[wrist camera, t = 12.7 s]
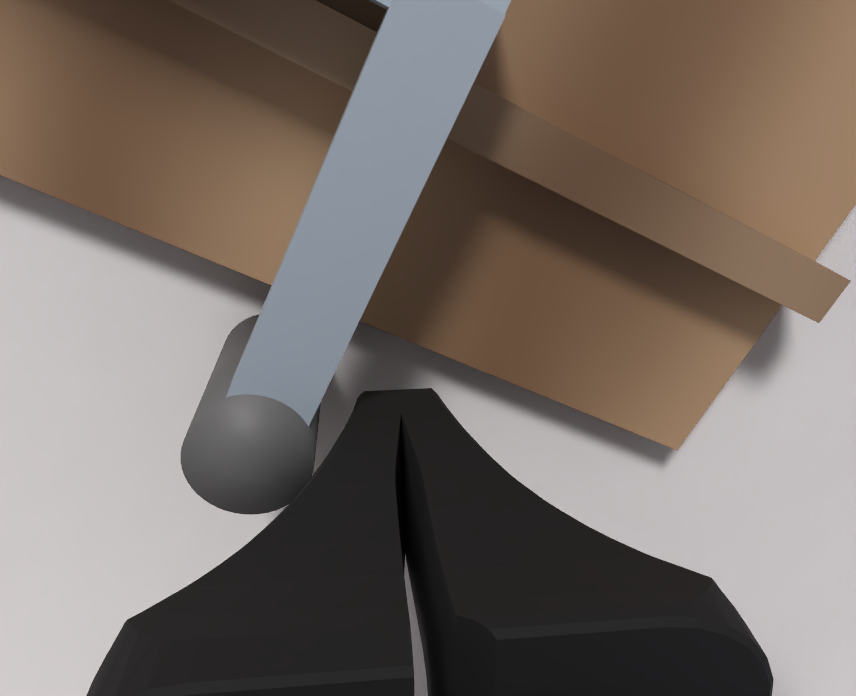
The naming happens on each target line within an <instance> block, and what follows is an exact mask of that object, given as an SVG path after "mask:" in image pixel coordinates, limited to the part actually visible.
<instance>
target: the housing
mask: <svg viewBox="0 0 856 696" xmlns="http://www.w3.org/2000/svg"><path fill="white" fill-rule="evenodd" d="M386 11H387V10H385V9H383V8H381V7H380V6H378V5H376V4H374V3H372V2H370V1H368V0H0V175H1V176H4V177H6V178H9V179H11V180H13V181H16V182H18V183H21V184H23V185H26V186H28V187H31V188H33V189H36V190H38V191H41V192H43V193H45V194H48V195H50V196H53V197H55V198H58V199H60V200H63V201H65V202H68V203H70V204H73V205H75V206H77V207H80V208H82V209H85V210H87V211H90V212H92V213H95V214H97V215H100V216H102V217H104V218H107V219H109V220H112V221H114V222H117V223H119V224H122V225H124V226H127V227H129V228H132V229H134V230H136V231H139V232H141V233H144V234H146V235H149V236H151V237H154V238H156V239H159V240H161V241H164V242H166V243H168V244H171V245H173V246H176V247H178V248H181V249H183V250H186V251H188V252H191V253H193V254H195V255H198V256H200V257H203V258H205V259H208V260H210V261H213V262H215V263H218V264H220V265H223V266H225V267H227V268H230V269H232V270H235V271H237V272H240V273H242V274H245V275H247V276H250V277H252V278H255V279H257V280H259V281H262V282H264V283H267V284H269V285H272V283H273V281H274V278H275V276H276V274H277V271H278V269H279V267H280V264H281V262H282V259H283V257H284V255H285V252H286V250H287V247H288V245H289V243H290V240H291V238H292V235H293V233H294V231H295V228H296V226H297V223H298V221H299V219H300V216H301V214H302V211H303V209H304V207H305V204H306V202H307V200H308V197H309V195H310V192H311V190H312V188H313V185H314V183H315V180H316V178H317V176H318V173H319V171H320V168H321V166H322V164H323V161H324V159H325V156H326V154H327V152H328V149H329V147H330V145H331V142H332V140H333V137H334V135H335V133H336V130H337V128H338V125H339V123H340V121H341V118H342V116H343V113H344V111H345V109H346V106H347V104H348V101H349V99H350V97H351V94H352V92H353V90H354V87H355V85H356V82H357V80H358V78H359V75H360V73H361V70H362V68H363V66H364V63H365V61H366V58H367V56H368V54H369V51H370V49H371V46H372V44H373V42H374V39H375V37H376V34H377V32H378V30H379V27H380V25H381V23H382V20H383V18H384V15H385V13H386ZM505 15H506V16H505V18H504V20H503V22H502V24H501V26H500V29H499V31H498V33H497V35H496V37H495V39H494V41H493V43H492V45H491V47H490V49H489V51H488V54H487V56H486V58H485V60H484V62H483V64H482V66H481V68H480V70H479V72H478V74H477V77H476V79H475V81H474V83H473V85H472V87H471V89H470V91H469V93H468V95H467V97H466V99H465V102H464V104H463V106H462V108H461V110H460V112H459V114H458V116H457V118H456V120H455V122H454V125H453V127H452V129H451V131H450V133H449V135H448V137H447V139H446V141H445V143H444V145H443V147H442V150H441V152H440V154H439V156H438V158H437V160H436V162H435V164H434V166H433V168H432V170H431V173H430V175H429V177H428V179H427V181H426V183H425V185H424V187H423V189H422V191H421V193H420V195H419V198H418V200H417V202H416V204H415V206H414V208H413V210H412V212H411V214H410V216H409V218H408V221H407V223H406V225H405V227H404V229H403V231H402V233H401V235H400V237H399V239H398V241H397V243H396V246H395V248H394V250H393V252H392V254H391V256H390V258H389V260H388V262H387V264H386V266H385V269H384V271H383V273H382V275H381V277H380V279H379V281H378V283H377V285H376V287H375V289H374V291H373V294H372V296H371V298H370V300H369V302H368V304H367V306H366V308H365V310H364V312H363V314H362V317H361V319H360V322H363V323H365V324H368V325H370V326H373V327H375V328H377V329H380V330H382V331H385V332H387V333H390V334H392V335H395V336H397V337H400V338H402V339H405V340H407V341H409V342H412V343H414V344H417V345H419V346H422V347H424V348H427V349H429V350H432V351H434V352H437V353H439V354H441V355H444V356H446V357H449V358H451V359H454V360H456V361H459V362H461V363H464V364H466V365H468V366H471V367H473V368H476V369H478V370H481V371H483V372H486V373H488V374H491V375H493V376H496V377H498V378H500V379H503V380H505V381H508V382H510V383H513V384H515V385H518V386H520V387H523V388H525V389H528V390H530V391H532V392H535V393H537V394H540V395H542V396H545V397H547V398H550V399H552V400H555V401H557V402H559V403H562V404H564V405H567V406H569V407H572V408H574V409H577V410H579V411H582V412H584V413H587V414H589V415H591V416H594V417H596V418H599V419H601V420H604V421H606V422H609V423H611V424H614V425H616V426H619V427H621V428H623V429H626V430H628V431H631V432H633V433H636V434H638V435H641V436H643V437H646V438H648V439H650V440H653V441H655V442H658V443H660V444H663V445H665V446H668V447H670V448H673V449H675V450H678V449H679V447H680V446H681V445H682V443H683V442H684V440H685V439H686V438H687V436H688V435H689V434H690V432H691V431H692V429H693V428H694V427H695V425H696V424H697V423H698V421H699V420H700V418H701V417H702V416H703V414H704V413H705V412H706V410H707V409H708V407H709V406H710V405H711V403H712V402H713V400H714V399H715V398H716V396H717V395H718V394H719V392H720V391H721V389H722V388H723V387H724V385H725V384H726V383H727V381H728V380H729V378H730V377H731V376H732V374H733V373H734V371H735V370H736V369H737V367H738V366H739V365H740V363H741V362H742V360H743V359H744V358H745V356H746V355H747V354H748V352H749V351H750V349H751V348H752V347H753V345H754V344H755V342H756V341H757V340H758V338H759V337H760V336H761V334H762V333H763V331H764V330H765V329H766V327H767V326H768V325H769V323H770V322H771V320H772V319H773V318H774V316H775V315H776V313H777V312H778V311H779V309H780V308H781V307H782V305H784V306H786V307H788V308H790V309H792V310H794V311H796V312H798V313H800V314H802V315H804V316H806V317H808V318H810V319H812V320H814V321H816V322H818V323H819V322H820V321H821V320H822V318H823V317H824V316H825V314H826V313H827V312H828V310H829V309H830V308H831V307H832V305H833V304H834V303H835V301H836V300H837V299H838V297H839V296H840V295H841V293H842V292H843V291H844V289H845V288H846V287H847V285H848V284H849V283H850V280H848V279H846V278H844V277H843V276H841V275H839V274H837V273H835V272H833V271H832V270H830V269H828V268H826V267H824V266H822V265H820V264H819V263H817V262H815V260H816V258H817V257H818V256H819V254H820V253H821V251H822V250H823V249H824V247H825V246H826V244H827V243H828V242H829V240H830V239H831V238H832V236H833V235H834V233H835V232H836V231H837V229H838V228H839V227H840V225H841V224H842V222H843V221H844V220H845V218H846V217H847V215H848V214H849V213H850V211H851V210H852V209H853V207H854V206H855V204H856V0H511V2H510V4H509V6H508V8H507V11H506V13H505Z"/></svg>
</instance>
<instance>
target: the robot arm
mask: <svg viewBox="0 0 856 696" xmlns="http://www.w3.org/2000/svg"><path fill="white" fill-rule="evenodd" d="M405 555H406V560H407V566H408V571H409V577H410V582H411V587H412V593H413V598H414V604H415V609H416V614H417V620H418V625H419V631H420V636H421V641H422V647H423V654H424V661H425V668H426V676H427V688H428V696H772V687H773V676H772V673H771V669H770V666H769V662H768V659H767V657H766V655H765V653H764V652H763V650H762V649H761V647H760V645H759V644H758V642H757V641H756V639H755V638H754V636H753V634H752V633H751V631H750V629H749V628H748V626H747V625H746V623H745V622H744V620H743V619H742V617H741V616H740V615H739V613H738V612H737V610H736V609H735V607H734V606H733V605H732V604H731V602H730V601H729V600H728V599H727V597H726V596H725V595H724V593H723V592H722V591H721V590H720V588H719V587H718V586H717V584H716V583H715V581H714V580H713V579H712V578H710V577H708V576H705V575H702V574H699V573H696V572H694V571H691V570H688V569H685V568H683V567H680V566H677V565H674V564H672V563H669V562H666V561H663V560H660V559H658V558H655V557H652V556H650V555H647V554H645V553H642V552H640V551H638V550H636V549H634V548H631V547H629V546H627V545H625V544H623V543H620V542H618V541H616V540H614V539H612V538H609V537H607V536H606V535H604V534H602V533H600V532H598V531H596V530H594V529H592V528H590V527H588V526H586V525H584V524H583V523H581V522H579V521H578V520H576V519H574V518H572V517H571V516H569V515H567V514H566V513H564V512H562V511H560V510H559V509H557V508H556V507H554V506H553V505H551V504H549V503H548V502H546V501H545V500H543V499H542V498H541V497H539V496H538V495H536V494H535V493H534V492H532V491H531V490H530V489H528V488H527V487H526V486H524V485H523V484H521V483H520V482H519V481H517V480H516V479H515V478H514V477H512V476H511V475H510V474H509V473H508V472H507V471H506V470H505V469H503V468H502V467H501V466H500V465H499V464H498V463H497V462H496V461H495V460H494V459H493V458H492V457H491V456H490V455H489V454H488V453H487V452H486V451H485V450H484V449H483V448H482V447H481V446H480V445H479V444H478V443H477V442H476V441H475V440H474V439H473V438H472V437H471V436H470V434H469V433H468V432H467V431H466V430H465V429H464V428H463V427H462V425H461V424H460V423H459V422H458V421H457V419H456V418H455V417H454V416H453V415H452V413H451V412H450V411H449V409H448V408H447V407H446V405H445V404H444V403H443V401H442V400H441V399H440V397H439V396H438V394H437V393H436V392H435V391H434V390H433V389H432V388H425V389H405V390H384V391H364V392H363V393H362V394H361V395H360V396H359V397H358V398H357V402H356V405H355V407H354V410H353V412H352V414H351V416H350V418H349V420H348V422H347V424H346V426H345V428H344V430H343V431H342V433H341V435H340V436H339V438H338V440H337V441H336V443H335V444H334V446H333V448H332V449H331V451H330V452H329V454H328V455H327V457H326V458H325V460H324V461H323V462H322V464H321V465H320V467H319V468H318V469H317V471H316V472H315V473H314V475H313V476H312V477H311V479H310V480H309V481H308V483H307V484H306V485H305V486H304V488H303V489H302V490H301V491H300V492H299V494H298V495H297V496H296V497H295V498H294V499H293V500H292V502H291V503H290V504H289V505H288V506H287V507H286V508H285V509H284V510H283V511H282V512H281V513H280V514H279V515H278V516H277V517H276V518H275V519H274V520H273V521H272V522H271V523H270V524H269V525H268V526H267V527H266V528H265V529H263V530H262V531H261V532H260V533H259V534H258V535H257V536H256V537H254V538H253V539H252V540H251V541H250V542H249V543H248V544H246V545H245V546H244V547H243V548H241V549H240V550H239V551H237V552H236V553H235V554H233V555H232V556H231V557H229V558H228V559H227V560H225V561H224V562H223V563H221V564H220V565H218V566H217V567H215V568H214V569H213V570H211V571H210V572H208V573H207V574H205V575H204V576H202V577H201V578H199V579H198V580H196V581H195V582H193V583H191V584H190V585H188V586H187V587H185V588H183V589H182V590H180V591H178V592H176V593H175V594H173V595H171V596H169V597H168V598H166V599H164V600H162V601H160V602H159V603H157V604H155V605H153V606H152V607H150V608H148V609H146V610H145V611H143V612H141V613H139V614H137V615H135V616H133V617H132V618H130V619H128V620H127V621H126V622H125V623H124V625H123V627H122V629H121V631H120V632H119V634H118V636H117V638H116V640H115V641H114V643H113V645H112V647H111V649H110V650H109V652H108V654H107V655H106V657H105V659H104V661H103V663H102V665H101V666H100V668H99V670H98V672H97V674H96V676H95V678H94V680H93V682H92V684H91V686H90V689H89V691H88V694H87V696H414V669H413V655H412V642H411V630H410V620H409V613H408V605H407V597H406V589H405V580H404V567H405Z"/></svg>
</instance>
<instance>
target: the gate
mask: <svg viewBox="0 0 856 696" xmlns="http://www.w3.org/2000/svg"><path fill="white" fill-rule="evenodd" d="M368 1H370V2H372V3H374V4H376V5H378V6H380V7H381V8H383V9H385V10H387V11H386V13H385V15H384V18H383V20H382V23H381V25H380V27H379V30H378V32H377V34H376V37H375V39H374V42H373V44H372V46H371V49H370V51H369V54H368V56H367V58H366V61H365V63H364V66H363V68H362V70H361V73H360V75H359V78H358V80H357V82H356V85H355V87H354V90H353V92H352V94H351V97H350V99H349V101H348V104H347V106H346V109H345V111H344V113H343V116H342V118H341V121H340V123H339V125H338V128H337V130H336V133H335V135H334V137H333V140H332V142H331V145H330V147H329V149H328V152H327V154H326V156H325V159H324V161H323V164H322V166H321V168H320V171H319V173H318V176H317V178H316V180H315V183H314V185H313V188H312V190H311V192H310V195H309V197H308V200H307V202H306V204H305V207H304V209H303V211H302V214H301V216H300V219H299V221H298V223H297V226H296V228H295V231H294V233H293V235H292V238H291V240H290V243H289V245H288V247H287V250H286V252H285V255H284V257H283V259H282V262H281V264H280V267H279V269H278V271H277V274H276V276H275V278H274V281H273V283H272V286H271V288H270V290H269V293H268V295H267V298H266V300H265V302H264V305H263V307H262V310H261V312H260V314H259V315H256V316H252V317H250V318H248V319H246V320H244V321H242V322H241V323H239V324H238V325H237V326H236V327H235V328H234V329H233V330H232V331H231V333H230V334H229V335H228V337H227V339H226V341H225V344H224V346H223V349H222V351H221V353H220V356H219V358H218V360H217V363H216V365H215V368H214V370H213V372H212V375H211V377H210V379H209V382H208V384H207V387H206V389H205V391H204V394H203V396H202V399H201V401H200V403H199V406H198V408H197V410H196V413H195V415H194V418H193V420H192V422H191V425H190V427H189V429H188V432H187V434H186V437H185V439H184V442H183V445H182V449H181V465H182V470H183V473H184V476H185V478H186V479H187V481H188V483H189V484H190V486H191V487H192V489H193V490H194V491H195V492H196V493H197V494H198V495H199V496H200V497H202V498H203V499H204V500H206V501H207V502H209V503H210V504H212V505H214V506H216V507H218V508H220V509H223V510H226V511H230V512H233V513H239V514H262V513H268V512H271V511H275V510H278V509H280V508H282V507H284V506H286V505H288V504H290V503H291V502H292V500H293V499H294V498H295V497H296V496H297V495H298V494H299V492H300V491H301V490H302V489H303V488H304V486H305V485H306V484H307V483H308V481H309V480H310V479H311V477H312V473H313V468H314V459H315V450H316V441H317V431H318V422H319V413H320V404H321V400H322V398H323V396H324V394H325V392H326V390H327V387H328V385H329V383H330V381H331V379H332V377H333V375H334V373H335V371H336V369H337V367H338V365H339V362H340V360H341V358H342V356H343V354H344V352H345V350H346V348H347V346H348V344H349V342H350V339H351V337H352V335H353V333H354V331H355V329H356V327H357V325H358V323H359V321H360V319H361V317H362V314H363V312H364V310H365V308H366V306H367V304H368V302H369V300H370V298H371V296H372V294H373V291H374V289H375V287H376V285H377V283H378V281H379V279H380V277H381V275H382V273H383V271H384V269H385V266H386V264H387V262H388V260H389V258H390V256H391V254H392V252H393V250H394V248H395V246H396V243H397V241H398V239H399V237H400V235H401V233H402V231H403V229H404V227H405V225H406V223H407V221H408V218H409V216H410V214H411V212H412V210H413V208H414V206H415V204H416V202H417V200H418V198H419V195H420V193H421V191H422V189H423V187H424V185H425V183H426V181H427V179H428V177H429V175H430V173H431V170H432V168H433V166H434V164H435V162H436V160H437V158H438V156H439V154H440V152H441V150H442V147H443V145H444V143H445V141H446V139H447V137H448V135H449V133H450V131H451V129H452V127H453V125H454V122H455V120H456V118H457V116H458V114H459V112H460V110H461V108H462V106H463V104H464V102H465V99H466V97H467V95H468V93H469V91H470V89H471V87H472V85H473V83H474V81H475V79H476V77H477V74H478V72H479V70H480V68H481V66H482V64H483V62H484V60H485V58H486V56H487V54H488V51H489V49H490V47H491V45H492V43H493V41H494V39H495V37H496V35H497V33H498V31H499V29H500V26H501V24H502V22H503V20H504V18H505V16H506V15H505V13H506V11H507V8H508V6H509V4H510V2H511V0H368Z"/></svg>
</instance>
